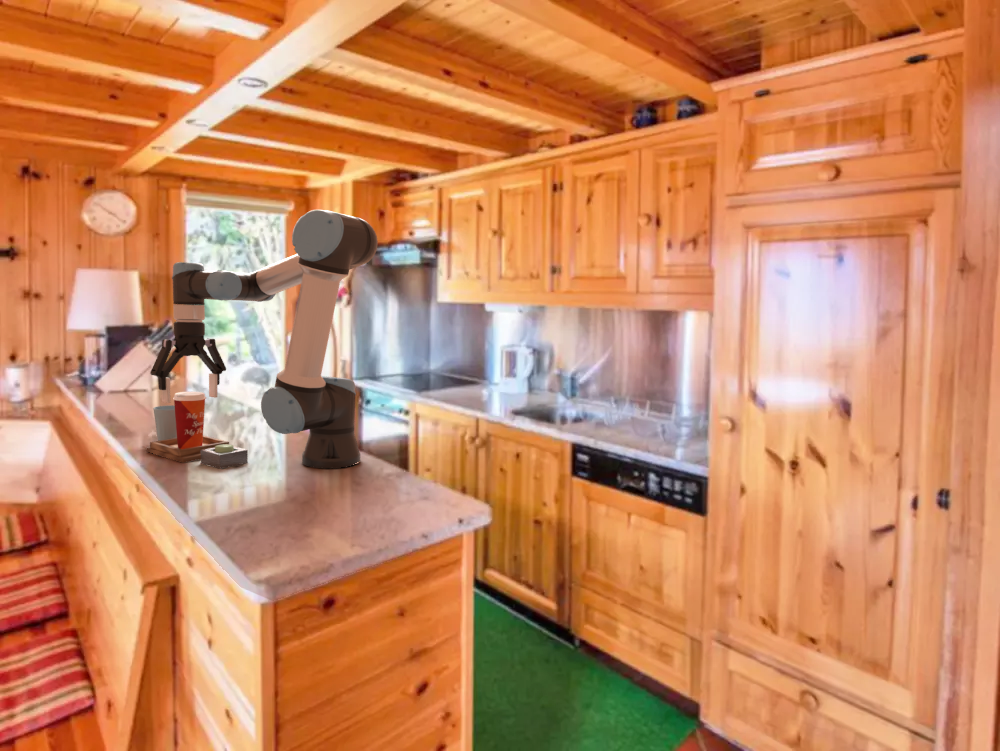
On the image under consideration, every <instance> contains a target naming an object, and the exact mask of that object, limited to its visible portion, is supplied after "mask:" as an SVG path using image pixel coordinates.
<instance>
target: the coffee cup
mask: <svg viewBox="0 0 1000 751" xmlns="http://www.w3.org/2000/svg"><path fill="white" fill-rule="evenodd" d="M206 399H207V397H206V394H205V392H202V391H179V392H175V393H174V396H173V398H172V400H173V404H174V406H175V418H176V432H177V443H178V448H179V449H186V448H191V447H197V446H202V443H203V435H204V429H205V428H204V424H205V423H204V422H205V405H206Z"/></svg>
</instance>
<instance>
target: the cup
mask: <svg viewBox="0 0 1000 751" xmlns="http://www.w3.org/2000/svg"><path fill="white" fill-rule="evenodd" d="M152 409H153V410H152V411H153V416H154V424H155V432H156V436H157V441H161V440H167V439H173V438H177V432H176V418H175V405H159V406H155V407H153V408H152Z"/></svg>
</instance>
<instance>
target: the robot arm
mask: <svg viewBox="0 0 1000 751" xmlns="http://www.w3.org/2000/svg"><path fill="white" fill-rule="evenodd" d="M378 242H379V241H378V236H377V233H376V231H375V230H374V228H373V226H372V225H371V224H370V223H369V222H367V221H366V220H365V219H362V218H360V217H357V216H352V215H347V214H344V213H339V212H335V211H333V210H327V209H325V210H323V209H312V210H310V211H308V212H306V213H305V214H304V215H303V214H302V216H300V218H298V220H297V221H296V223H295V225H294V228H293V230H292V236H291V243H292V245H293V246H292V247H294V248H293V250H294V251H295V253H296V254H294V255H291V256H289V257H286V258H284V259H282V260H279V261H277V262H274V263H272V264H269V265H267V266H265V267H262V268H260V269H258V270H256V271H253V272H249V273H248V272H236V271H229V270H222V269H218V270H205V267H204V264H202V263H199V262H198V263H197V262H188V261H187V262H183V261H179V262H175V263H174V264H173V265H172V276H171V279H172V301H173V307H172V308H173V319H174V320H175V321H174V322H173V335H174V336H173V337H174V339H173V340H172V339H162V341H161V348H160V350H159V353H158V355H157V357H156V359H155V361H154V363H153V366H152V368H151V370H150V371H149V372H150V373H149V374H150V375H151V376H154V377H157V378H158V379H157V380H158V389H159V391H161V402H162V403H165V404H166V403H167V404H169V403H171V378H170V377H168V376H169V374H170V373H171V372H172V371H173V369H174V368H175V366H176V365H177V364H178V363H179V361H180V360H181V359H182V358H183V357H190V356H195V357H196V356H197V357H198V358H199V359H200V360H201V361H202V362H203V363H204V365H205V367H207V368H208V369H209V371H210V372H211V373H208V397H209V398H215V399H216V398H218V386H220V384H221V383H220V379H221V378H220V375H221V374H223V372H226V370H227V367H226V365H225V362H224V360H223V358H222V356H221V354H220V352H219V350H218V348H217V344H216V338H208V337H207V338H206V339H205V334H206V332H205V331H206V330H205V328H206V326H205V322H203V321H204V320H205V319H206V317H205V316H206V314H205V313H206V312H205V310H206V309H205V300H213V301H214V300H215V301H221V302H222V301H241V302H242V301H245V302H246V301H247V302H257V303H261V302H269V301H272V300H273V299H274V297H275V296H276V295H277V294H278V293H281V292H283V291H286V290H289V289H291V288H294V287H296V286H299V285H300V288H299V293H298V298H297V302H296V303H297V304H296V309H295V315H294V319H293V325H292V329H291V336H290V339H289V346H288V350H287V356H286V359H285V360H286V362H285V366H284V367H285V368H284V369H283V370H281V371H279V372H278V373H277V374H276V378H275V384H274V386H271V387H269V388H268V389H267V390H266V391H265V392H264V393H263V395H262V397H261V402H260V408H261V409H260V410H261V414H262V417H263V418H264V420H265V421H266V422H265V423H266V424H267V425H268V426H269V427H270V428H271V430H273V431H274V432H277V433H278V434H282V435H288V434H289V435H290V434H299V433H301V432H302V431H303V432H305V431H308V430H309V433H308V437H307V440H306V444H305V447H304V450H303V452H302V455H301V463H302V465H304V466H306V467H311V468H314V469H315V468H317V469H325V468H333V469H342V468H341V467H345V468H347V467H346V466H350V465H353V464H355V463H357V462H359V461H360V462H361V451H360V450H359V446H358V442H357V438H356V435H355V422H356V421H355V418H356V417H355V416H356V415H355V413H356V394H357V393H356V383H355V381H354V380H352V378H351V379H350V378H345V377H334V376H325V375H322V373H323V372H322V371H323V367H324V363H325V357H326V353H327V347H328V342H329V338H330V333H331V328H332V323H333V319H334V313H335V308H336V304H337V300H338V294H339V289H340V285H341V282H342V280H344V279H345V278H346V277H348V276H349V274H350V270H352V269H355V268H357V267H361V266H363V265H366V264H368V263H369V262H370V261H371V260H372V259H373V258H374V257H375V255H376V252H377V250H378ZM173 347H174V348H175V349H174V350H173V351H172V348H173ZM204 347H206V349H207V351H208V352H207V351H206V350H205V348H204ZM171 351H172V353H171ZM170 353H171V355H170ZM208 353H209V354H210V356H209V355H208ZM169 356H170V357H169ZM350 467H351V466H350Z"/></svg>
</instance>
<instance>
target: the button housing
mask: <svg viewBox="0 0 1000 751" xmlns="http://www.w3.org/2000/svg"><path fill="white" fill-rule="evenodd" d="M233 446H234V445H233ZM248 451H249V450H248V449H247V448H242V447H239V446H234V451H230V452H225V453H219V452H215V447H214V448H209V449H203V450H201V460H200V464H202V465H206V466H209V467H213V468H215V469H219V470H220V469H225V468H231V467H235V466H239V465H244V464H248V462H249V461H248V457H249V456H248V453H249V452H248Z"/></svg>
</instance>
